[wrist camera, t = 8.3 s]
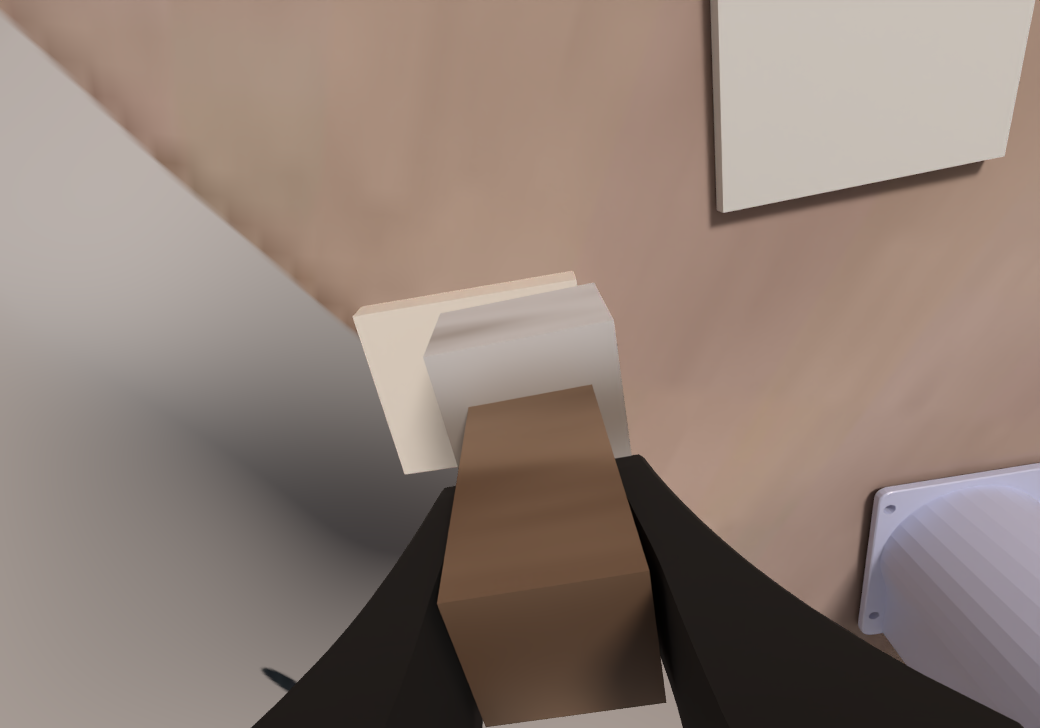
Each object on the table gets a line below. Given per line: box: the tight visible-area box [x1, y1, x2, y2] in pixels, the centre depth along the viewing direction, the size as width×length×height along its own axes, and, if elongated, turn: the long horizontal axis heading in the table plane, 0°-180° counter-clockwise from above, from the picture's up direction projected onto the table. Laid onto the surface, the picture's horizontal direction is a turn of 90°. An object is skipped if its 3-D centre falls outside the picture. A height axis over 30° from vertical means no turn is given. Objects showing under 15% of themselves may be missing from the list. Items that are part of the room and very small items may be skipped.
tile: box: [353, 271, 577, 474], centre depth 20 cm, size 7×2×8 cm
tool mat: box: [710, 0, 1035, 213], centre depth 15 cm, size 9×9×1 cm
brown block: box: [423, 283, 666, 727], centre depth 11 cm, size 6×4×8 cm
